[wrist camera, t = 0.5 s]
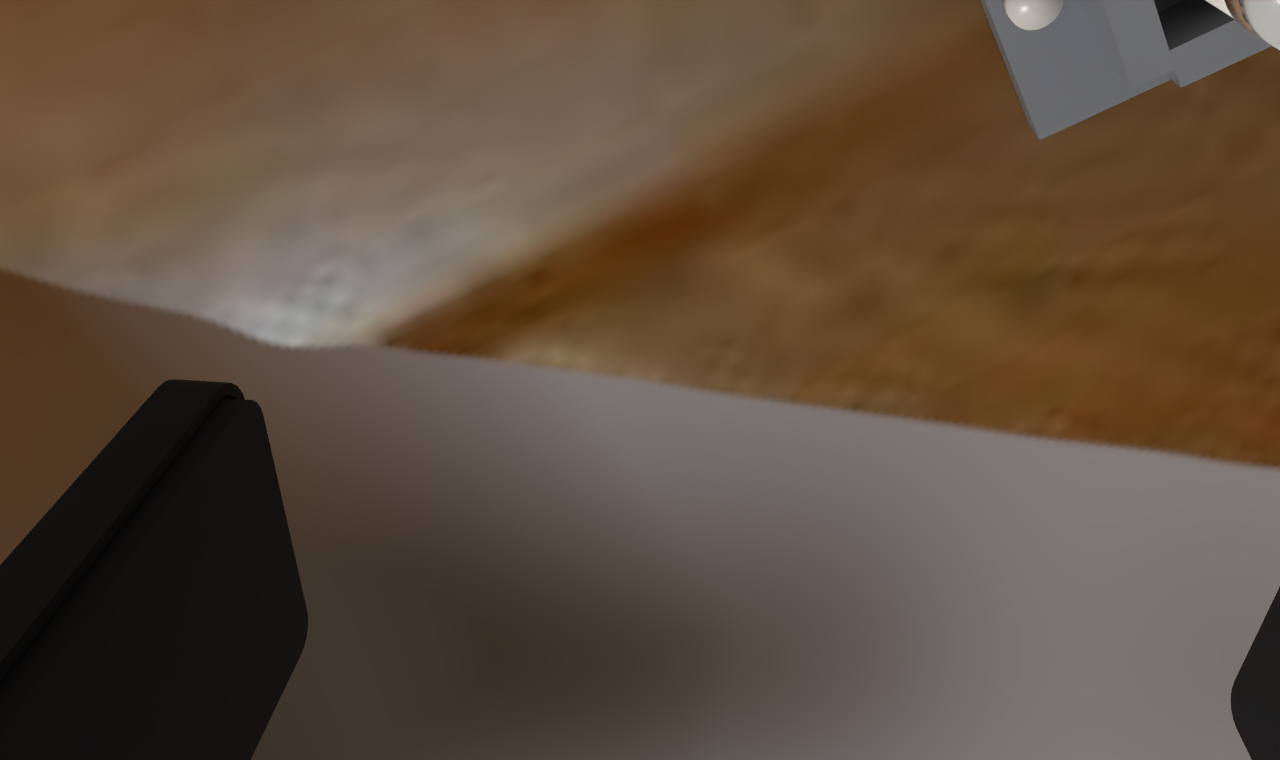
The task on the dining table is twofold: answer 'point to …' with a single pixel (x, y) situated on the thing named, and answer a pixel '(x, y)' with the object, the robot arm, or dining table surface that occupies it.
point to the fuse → (1255, 17)
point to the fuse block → (1108, 51)
